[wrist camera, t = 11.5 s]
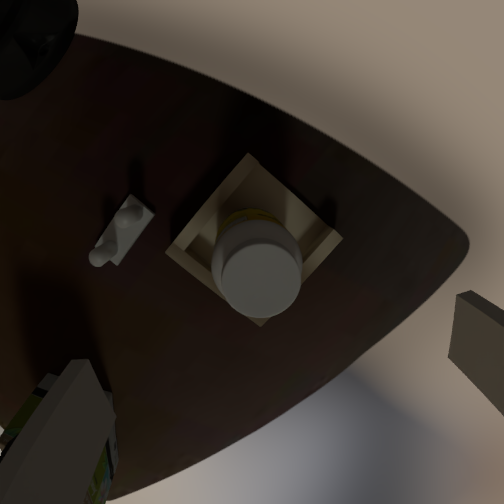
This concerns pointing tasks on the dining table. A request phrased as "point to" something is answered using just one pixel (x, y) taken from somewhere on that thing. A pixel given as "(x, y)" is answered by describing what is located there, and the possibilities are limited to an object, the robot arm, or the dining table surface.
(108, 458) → the tea box
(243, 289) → the pill bottle
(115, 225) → the clip
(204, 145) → the dining table surface
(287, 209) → the square tray
